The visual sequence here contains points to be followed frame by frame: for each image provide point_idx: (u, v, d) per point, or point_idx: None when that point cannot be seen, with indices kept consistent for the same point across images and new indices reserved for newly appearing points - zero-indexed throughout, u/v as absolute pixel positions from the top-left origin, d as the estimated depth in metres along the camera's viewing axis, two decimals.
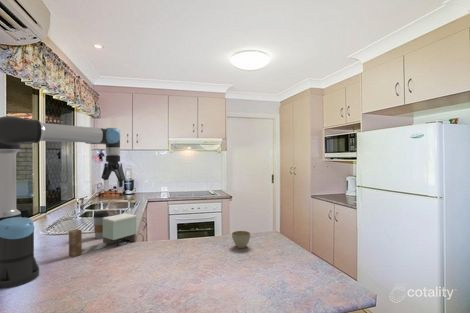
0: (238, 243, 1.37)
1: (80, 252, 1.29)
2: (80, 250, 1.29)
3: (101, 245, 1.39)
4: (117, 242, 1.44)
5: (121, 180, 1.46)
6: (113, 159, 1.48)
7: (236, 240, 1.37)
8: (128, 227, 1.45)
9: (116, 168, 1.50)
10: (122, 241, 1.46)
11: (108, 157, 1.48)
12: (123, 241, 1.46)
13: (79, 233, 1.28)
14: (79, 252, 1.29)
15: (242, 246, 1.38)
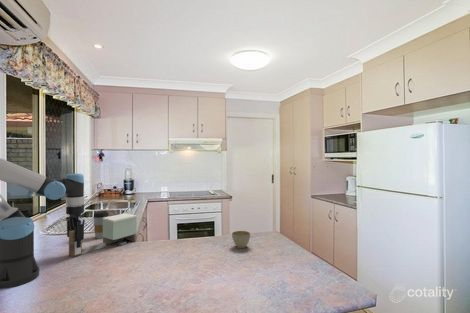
0: (238, 243, 1.37)
1: None
2: None
3: (101, 245, 1.39)
4: (117, 242, 1.44)
5: (78, 240, 1.26)
6: (74, 211, 1.25)
7: (236, 240, 1.37)
8: (128, 227, 1.45)
9: None
10: (122, 241, 1.46)
11: (68, 209, 1.25)
12: (123, 241, 1.46)
13: None
14: None
15: (242, 246, 1.38)
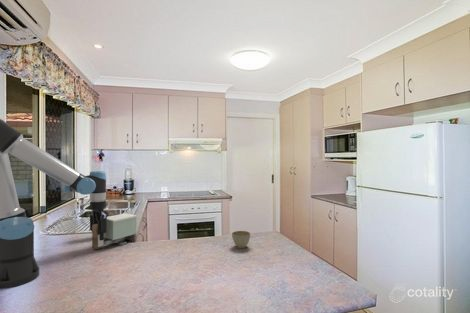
0: (238, 243, 1.37)
1: None
2: None
3: (121, 238, 1.48)
4: (117, 242, 1.44)
5: (101, 233, 1.34)
6: (98, 206, 1.34)
7: (236, 240, 1.37)
8: (128, 227, 1.45)
9: (101, 216, 1.36)
10: (122, 241, 1.46)
11: (92, 204, 1.34)
12: (123, 241, 1.46)
13: None
14: None
15: (242, 246, 1.38)
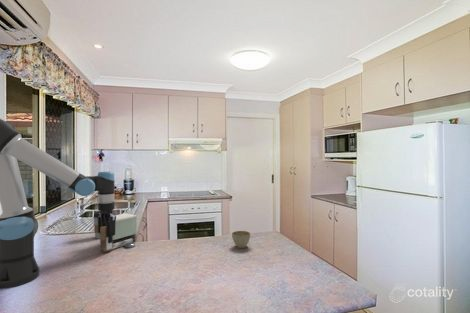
0: (238, 243, 1.37)
1: None
2: None
3: (129, 241, 1.43)
4: (125, 244, 1.40)
5: (110, 236, 1.30)
6: (106, 208, 1.30)
7: (236, 240, 1.37)
8: (128, 227, 1.45)
9: None
10: (130, 243, 1.41)
11: (101, 206, 1.29)
12: (131, 243, 1.41)
13: None
14: None
15: (242, 246, 1.38)
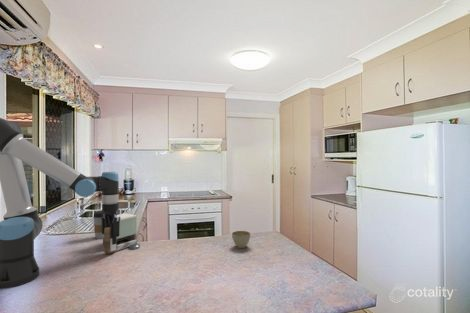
0: (238, 243, 1.37)
1: None
2: None
3: (133, 242, 1.41)
4: (130, 246, 1.38)
5: (114, 237, 1.28)
6: (110, 209, 1.28)
7: (236, 240, 1.37)
8: (128, 227, 1.45)
9: None
10: (135, 245, 1.40)
11: (105, 207, 1.27)
12: (136, 245, 1.40)
13: None
14: None
15: (242, 246, 1.38)
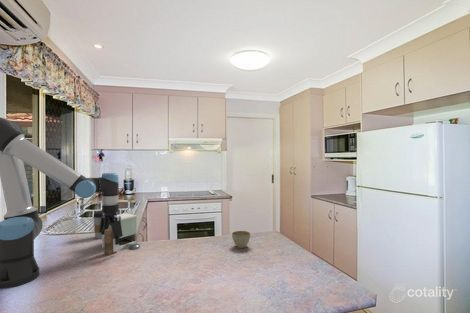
0: (238, 243, 1.37)
1: None
2: None
3: (133, 243, 1.41)
4: (130, 246, 1.38)
5: (117, 237, 1.27)
6: (110, 210, 1.28)
7: (236, 240, 1.37)
8: (128, 227, 1.45)
9: None
10: (135, 245, 1.40)
11: (105, 208, 1.27)
12: (136, 245, 1.40)
13: None
14: None
15: (242, 246, 1.38)
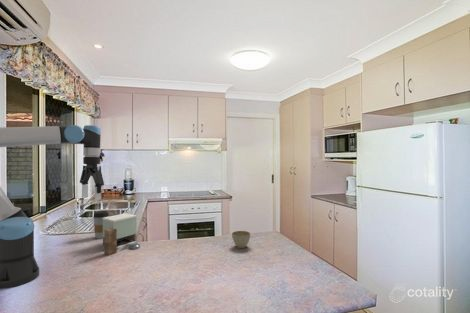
0: (238, 243, 1.37)
1: (115, 250, 1.31)
2: (115, 248, 1.31)
3: (133, 243, 1.41)
4: (130, 246, 1.38)
5: (99, 185, 1.27)
6: (91, 161, 1.29)
7: (236, 240, 1.37)
8: (128, 227, 1.45)
9: (95, 171, 1.31)
10: (135, 245, 1.40)
11: (85, 159, 1.29)
12: (136, 245, 1.40)
13: (114, 232, 1.31)
14: (115, 250, 1.31)
15: (242, 246, 1.38)
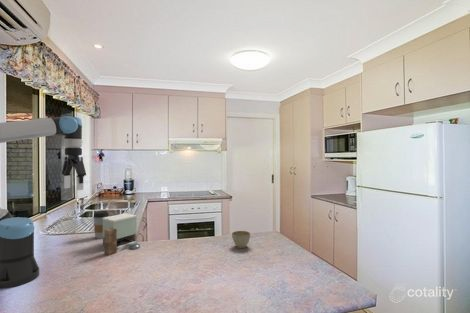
0: (238, 243, 1.37)
1: (115, 250, 1.31)
2: (115, 248, 1.31)
3: (133, 243, 1.41)
4: (130, 246, 1.38)
5: (81, 176, 1.29)
6: (72, 152, 1.31)
7: (236, 240, 1.37)
8: (128, 227, 1.45)
9: (76, 162, 1.33)
10: (135, 245, 1.40)
11: (67, 150, 1.31)
12: (136, 245, 1.40)
13: (114, 232, 1.31)
14: (115, 250, 1.31)
15: (242, 246, 1.38)
